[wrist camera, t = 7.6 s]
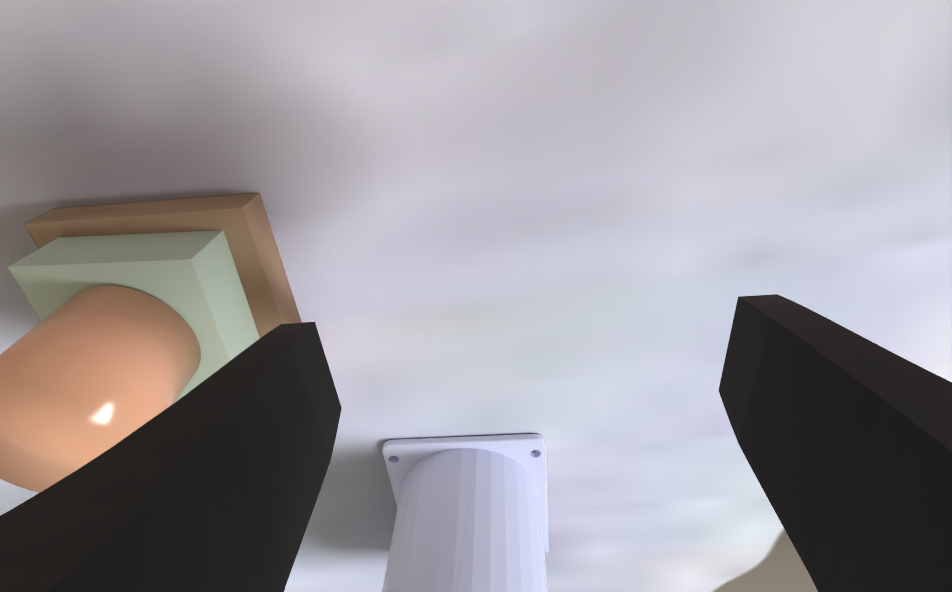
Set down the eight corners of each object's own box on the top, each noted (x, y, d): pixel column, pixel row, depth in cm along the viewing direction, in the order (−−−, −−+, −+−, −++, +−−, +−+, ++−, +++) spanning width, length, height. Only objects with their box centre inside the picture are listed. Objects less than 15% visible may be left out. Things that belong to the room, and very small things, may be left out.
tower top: (268, 364, 21) (246, 403, 19) (127, 369, 21) (91, 407, 19) (223, 230, 18) (191, 259, 16) (58, 237, 18) (7, 266, 16)
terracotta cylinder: (200, 400, 19) (132, 508, 15) (70, 374, 18) (-36, 480, 15) (201, 304, 17) (120, 404, 13) (51, 270, 16) (-80, 365, 12)
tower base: (319, 352, 23) (304, 386, 21) (154, 361, 24) (125, 394, 22) (267, 185, 19) (242, 207, 17) (69, 200, 20) (23, 224, 18)
